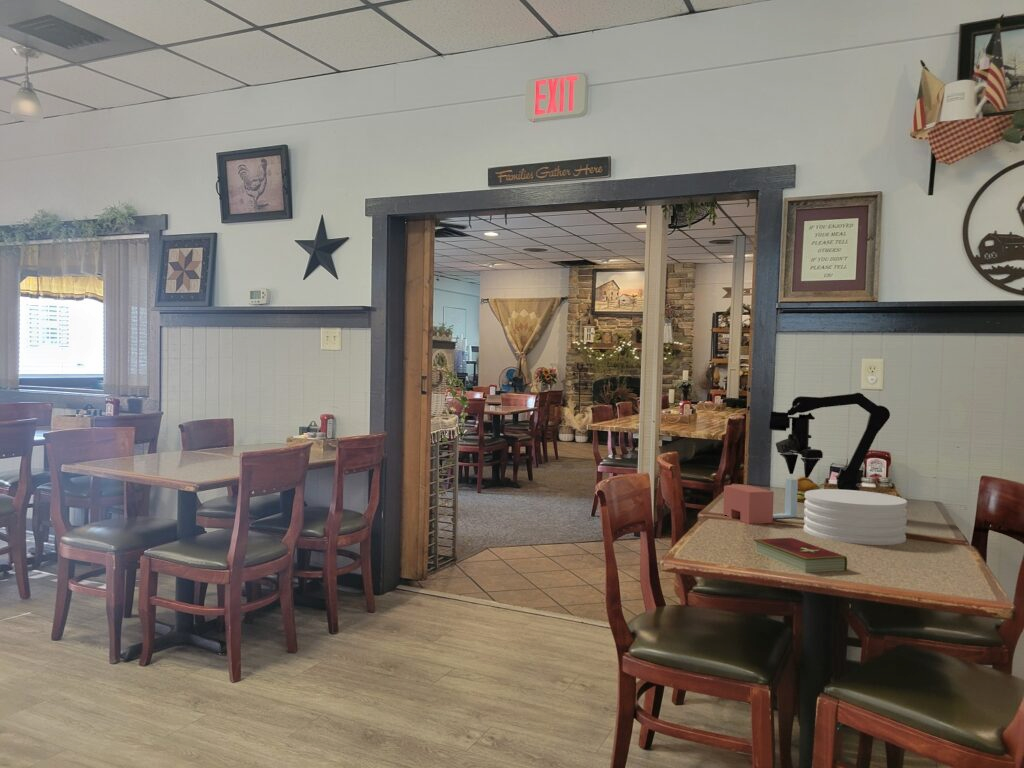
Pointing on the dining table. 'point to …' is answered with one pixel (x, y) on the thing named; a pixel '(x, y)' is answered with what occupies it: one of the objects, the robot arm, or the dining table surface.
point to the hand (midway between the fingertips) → (798, 475)
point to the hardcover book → (801, 555)
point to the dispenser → (748, 503)
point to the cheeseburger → (805, 488)
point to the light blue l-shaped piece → (789, 499)
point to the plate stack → (855, 516)
